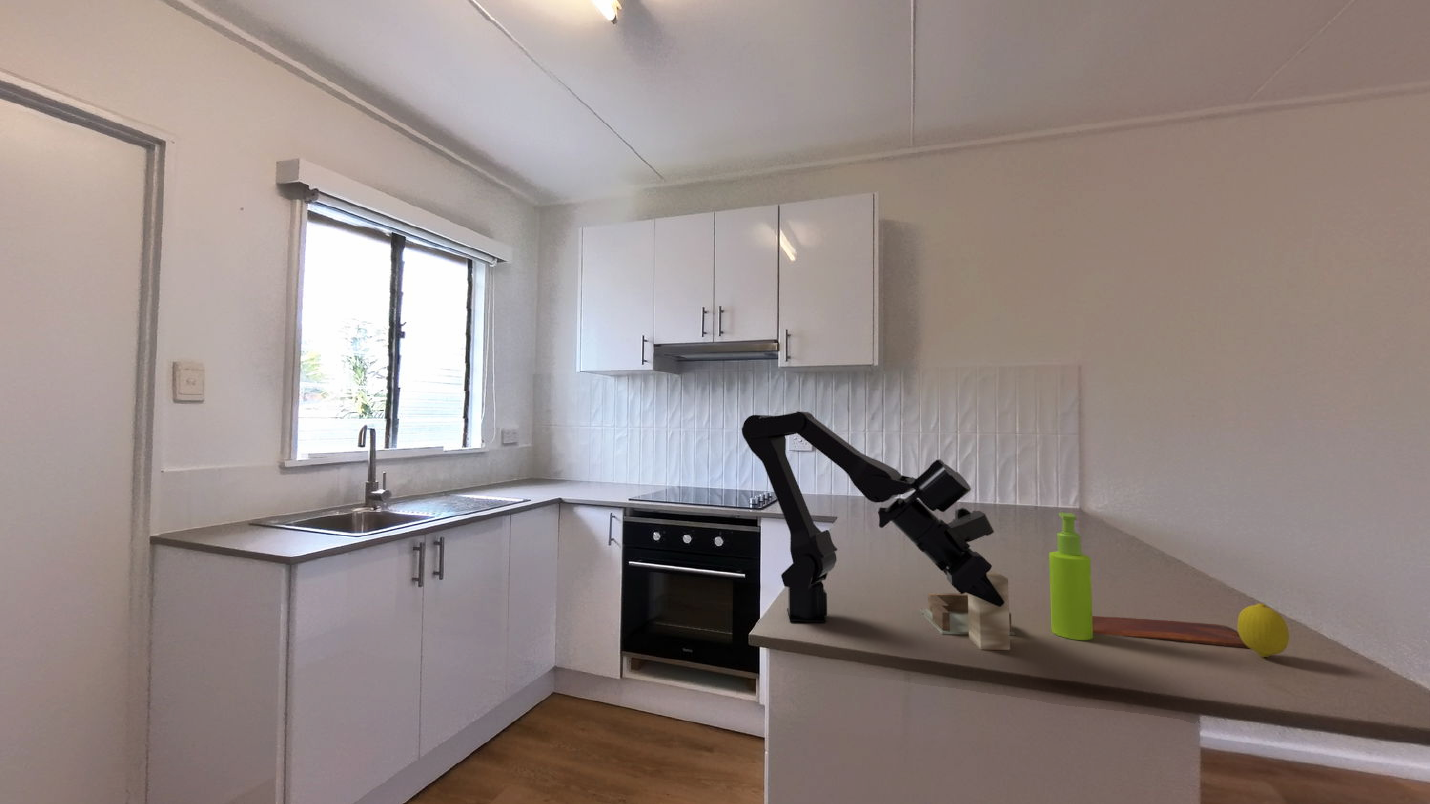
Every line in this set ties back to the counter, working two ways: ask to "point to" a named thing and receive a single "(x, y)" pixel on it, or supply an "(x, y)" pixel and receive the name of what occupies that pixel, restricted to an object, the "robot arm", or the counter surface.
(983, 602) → the birch post
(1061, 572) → the soap dispenser
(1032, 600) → the counter surface
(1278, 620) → the lemon
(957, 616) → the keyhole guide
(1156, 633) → the wooden tablet
